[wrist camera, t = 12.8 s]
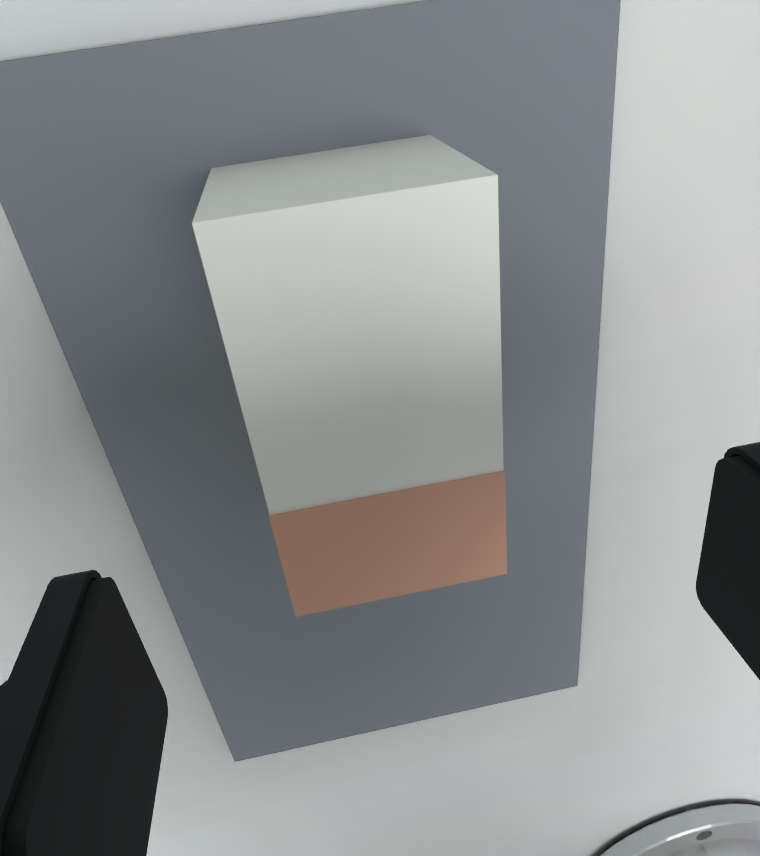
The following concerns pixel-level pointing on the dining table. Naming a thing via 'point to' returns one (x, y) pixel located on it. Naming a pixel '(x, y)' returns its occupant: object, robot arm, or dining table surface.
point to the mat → (209, 366)
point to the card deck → (366, 361)
